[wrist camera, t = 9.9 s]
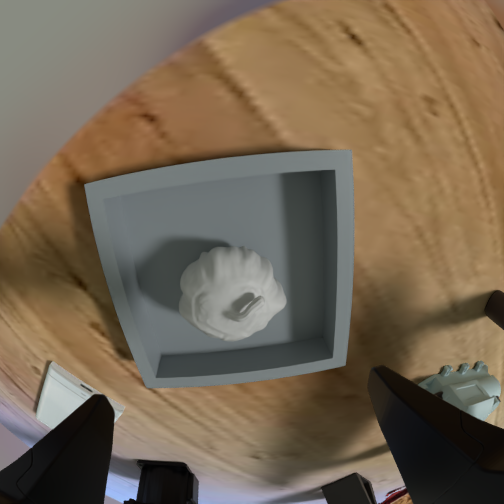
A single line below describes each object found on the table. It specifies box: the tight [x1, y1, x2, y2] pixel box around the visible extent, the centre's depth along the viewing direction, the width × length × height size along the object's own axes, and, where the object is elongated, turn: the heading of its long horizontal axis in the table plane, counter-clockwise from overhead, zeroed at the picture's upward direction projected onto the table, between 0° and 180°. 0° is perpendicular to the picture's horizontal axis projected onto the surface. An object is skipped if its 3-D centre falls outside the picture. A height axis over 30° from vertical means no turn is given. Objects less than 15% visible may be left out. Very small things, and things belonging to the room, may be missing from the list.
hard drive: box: [36, 361, 125, 429], centre depth 22 cm, size 2×8×12 cm
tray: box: [84, 150, 354, 388], centre depth 17 cm, size 14×14×3 cm
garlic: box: [179, 246, 286, 341], centre depth 15 cm, size 6×5×5 cm
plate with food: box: [379, 488, 413, 504], centre depth 42 cm, size 25×26×4 cm
